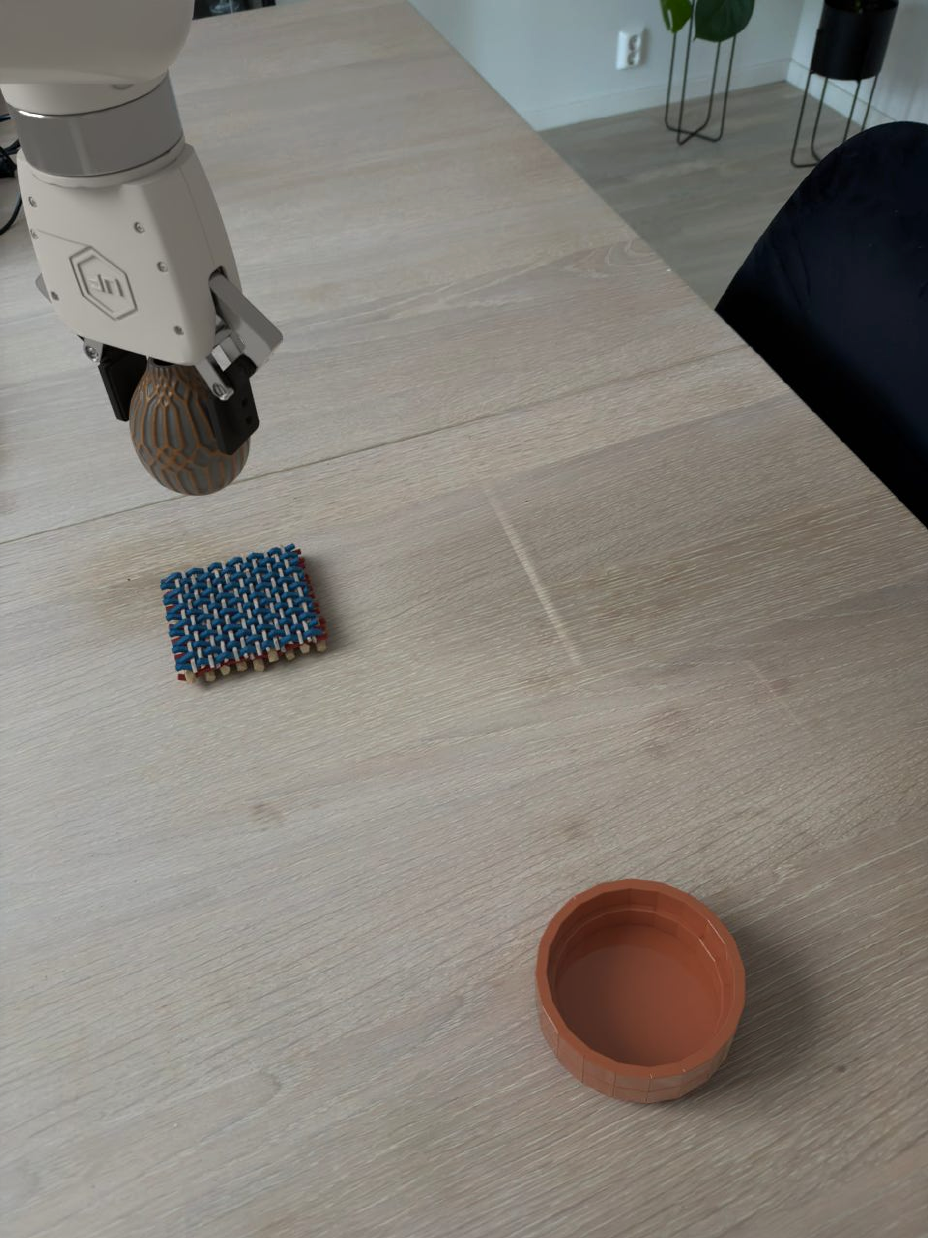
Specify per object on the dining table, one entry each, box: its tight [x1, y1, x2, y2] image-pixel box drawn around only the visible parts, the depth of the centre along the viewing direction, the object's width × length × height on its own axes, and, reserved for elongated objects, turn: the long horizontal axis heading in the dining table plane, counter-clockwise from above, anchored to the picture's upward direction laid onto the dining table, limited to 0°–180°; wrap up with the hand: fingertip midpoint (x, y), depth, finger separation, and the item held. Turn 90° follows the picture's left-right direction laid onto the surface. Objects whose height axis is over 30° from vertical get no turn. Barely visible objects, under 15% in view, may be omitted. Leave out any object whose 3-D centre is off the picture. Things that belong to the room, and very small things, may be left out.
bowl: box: [534, 878, 747, 1104], centre depth 56 cm, size 10×10×4 cm
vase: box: [128, 356, 252, 497], centre depth 65 cm, size 7×7×9 cm
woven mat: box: [159, 542, 329, 685], centre depth 77 cm, size 10×11×2 cm
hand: (188, 422), depth 65 cm, fingers closed on vase, 6 cm apart
